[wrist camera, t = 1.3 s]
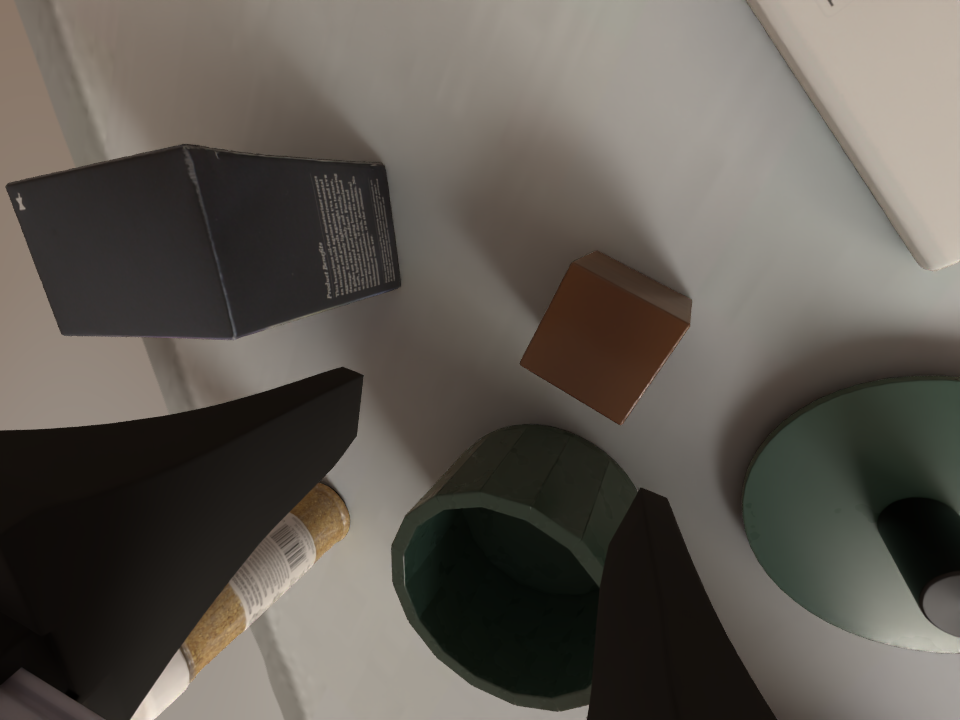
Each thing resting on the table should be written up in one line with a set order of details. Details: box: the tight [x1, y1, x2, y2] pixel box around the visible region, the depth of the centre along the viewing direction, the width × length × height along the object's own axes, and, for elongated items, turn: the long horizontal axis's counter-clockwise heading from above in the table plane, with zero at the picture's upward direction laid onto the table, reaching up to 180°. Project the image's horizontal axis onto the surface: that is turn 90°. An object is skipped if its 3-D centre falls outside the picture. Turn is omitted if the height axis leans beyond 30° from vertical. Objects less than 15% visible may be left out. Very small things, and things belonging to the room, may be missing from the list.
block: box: [520, 251, 692, 425], centre depth 19 cm, size 4×4×4 cm
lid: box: [742, 376, 960, 654], centre depth 16 cm, size 11×11×5 cm
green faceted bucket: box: [391, 424, 638, 712], centre depth 22 cm, size 10×10×6 cm
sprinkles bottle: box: [130, 483, 350, 720], centre depth 26 cm, size 5×5×14 cm
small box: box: [6, 144, 401, 340], centre depth 21 cm, size 11×6×10 cm, turn 96°
